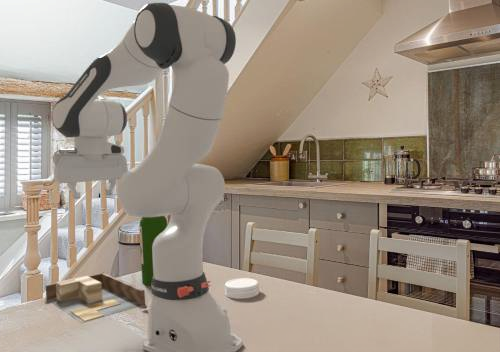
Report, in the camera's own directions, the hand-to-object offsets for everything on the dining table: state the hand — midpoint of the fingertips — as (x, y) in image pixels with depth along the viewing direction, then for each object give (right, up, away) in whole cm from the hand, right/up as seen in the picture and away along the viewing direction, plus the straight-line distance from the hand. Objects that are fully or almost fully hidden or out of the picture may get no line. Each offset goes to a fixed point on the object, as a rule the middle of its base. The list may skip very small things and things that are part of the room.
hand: (93, 196), depth 122 cm
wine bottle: (+14, -29, +17) cm, 37 cm away
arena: (0, -30, 0) cm, 30 cm away
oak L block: (-5, -30, +2) cm, 30 cm away
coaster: (+42, -29, +4) cm, 51 cm away
